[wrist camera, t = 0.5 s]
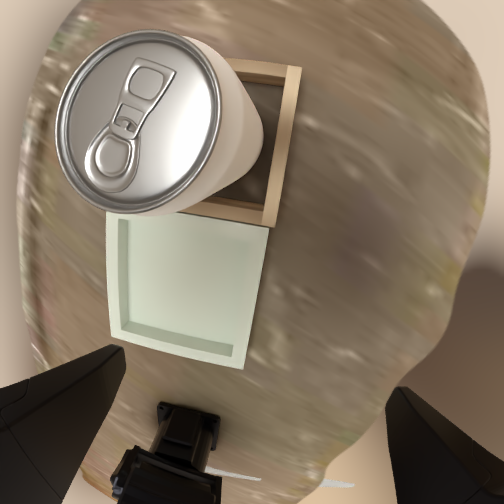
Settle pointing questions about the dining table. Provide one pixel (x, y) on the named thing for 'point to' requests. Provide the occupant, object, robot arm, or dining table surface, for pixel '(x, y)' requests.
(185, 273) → the tray
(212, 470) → the butter knife
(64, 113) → the can
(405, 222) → the dining table surface
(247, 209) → the collar
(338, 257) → the dining table surface
